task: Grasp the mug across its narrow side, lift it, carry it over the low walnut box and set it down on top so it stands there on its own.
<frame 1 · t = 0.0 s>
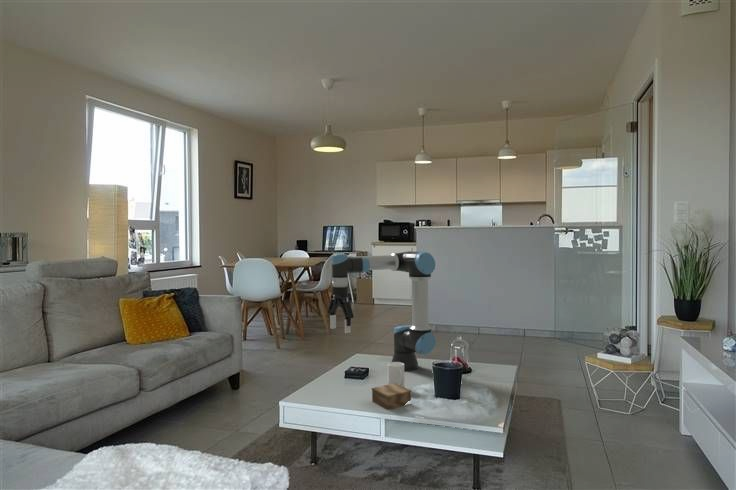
hand: (340, 330, 230), 28 cm above the table, fingers open, 13 cm apart
mug: (397, 390, 228), on the table
walnut box: (391, 403, 210), on the table
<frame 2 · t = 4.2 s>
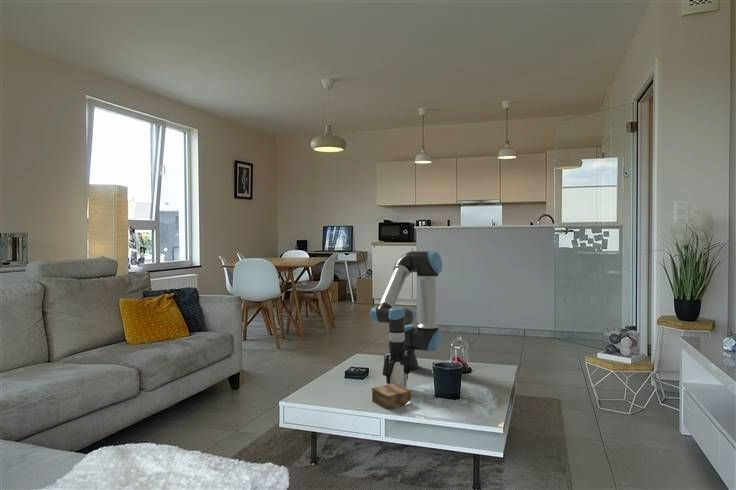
hand: (397, 388, 229), 1 cm above the table, fingers closed on mug, 8 cm apart
mug: (396, 390, 228), on the table, touching gripper
when the fingers open (8 cm above the table, at t = 9.4 s): mug stays where it is, resting on walnut box.
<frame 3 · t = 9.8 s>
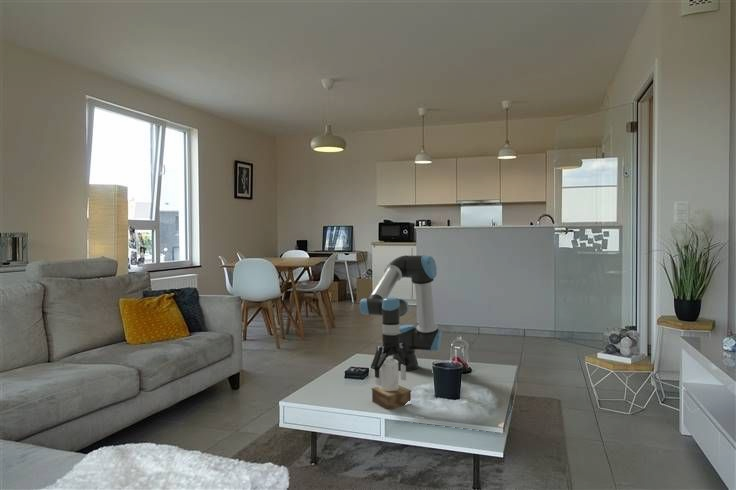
hand: (391, 382, 210), 9 cm above the table, fingers open, 13 cm apart
mug: (390, 389, 210), point 6 cm above the table, touching walnut box
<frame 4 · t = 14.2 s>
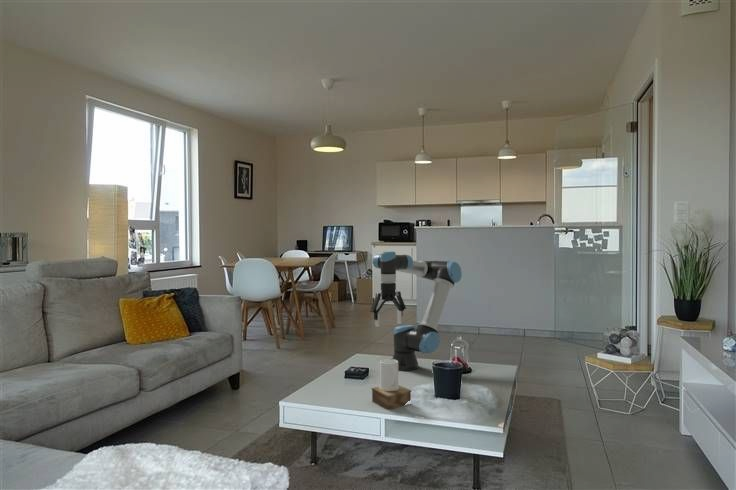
hand: (388, 325, 240), 29 cm above the table, fingers open, 13 cm apart
nothing on the table moved.
at the end: mug inside the target area on the walnut box (0.5 cm from its centre), point 5.8 cm above the walnut box's base; mug tilted 0°; the gripper is holding nothing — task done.
